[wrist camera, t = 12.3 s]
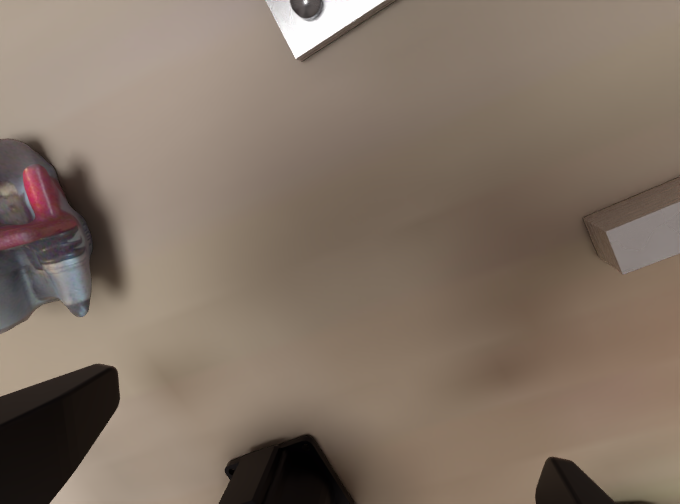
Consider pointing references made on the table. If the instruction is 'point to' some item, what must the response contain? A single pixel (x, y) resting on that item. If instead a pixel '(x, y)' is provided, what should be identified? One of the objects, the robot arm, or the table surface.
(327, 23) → the silver bolted socket base
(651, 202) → the loose bracket
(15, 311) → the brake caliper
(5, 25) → the table surface
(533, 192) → the table surface
